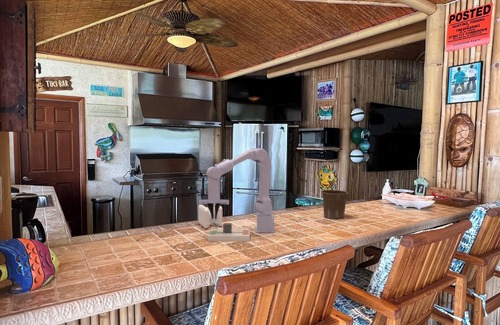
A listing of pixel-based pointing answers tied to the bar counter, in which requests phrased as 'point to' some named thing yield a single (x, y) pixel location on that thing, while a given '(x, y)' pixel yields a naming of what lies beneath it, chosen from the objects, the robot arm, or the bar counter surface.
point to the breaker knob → (227, 227)
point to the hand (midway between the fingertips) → (214, 218)
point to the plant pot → (334, 203)
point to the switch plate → (229, 235)
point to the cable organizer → (209, 216)
